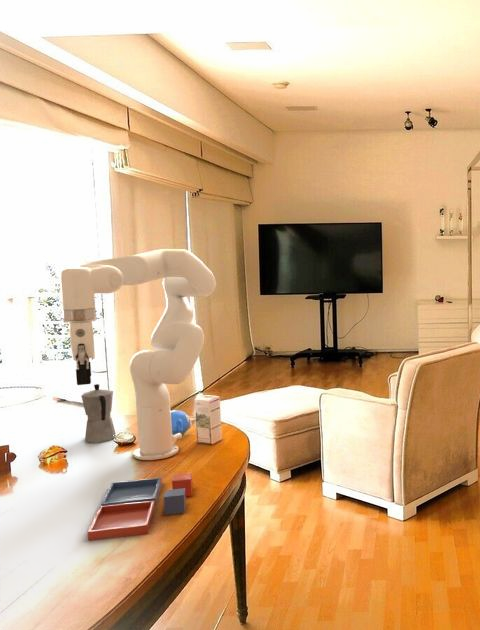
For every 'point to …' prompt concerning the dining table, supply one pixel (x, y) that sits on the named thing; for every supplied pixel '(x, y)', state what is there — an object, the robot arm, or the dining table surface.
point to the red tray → (122, 520)
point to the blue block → (175, 501)
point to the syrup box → (208, 419)
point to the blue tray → (132, 491)
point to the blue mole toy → (180, 422)
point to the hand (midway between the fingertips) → (84, 380)
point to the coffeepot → (98, 415)
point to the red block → (183, 483)
